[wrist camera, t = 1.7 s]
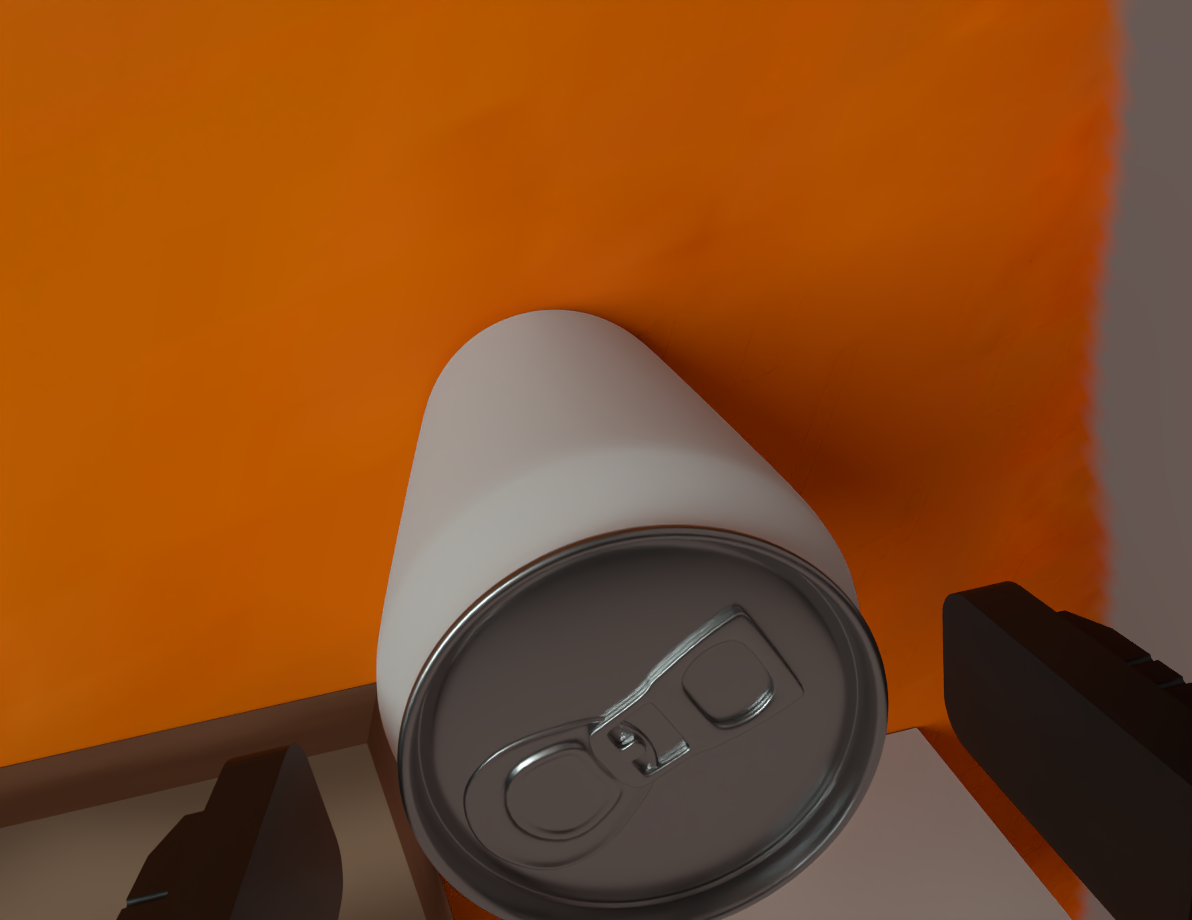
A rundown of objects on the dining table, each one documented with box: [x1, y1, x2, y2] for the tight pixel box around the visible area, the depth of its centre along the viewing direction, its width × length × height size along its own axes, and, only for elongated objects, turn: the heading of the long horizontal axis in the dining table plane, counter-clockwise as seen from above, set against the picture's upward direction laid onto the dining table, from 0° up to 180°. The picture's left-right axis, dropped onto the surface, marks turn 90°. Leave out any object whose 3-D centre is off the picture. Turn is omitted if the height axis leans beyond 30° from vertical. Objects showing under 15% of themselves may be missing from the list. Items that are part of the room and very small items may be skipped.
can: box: [377, 310, 888, 920], centre depth 14 cm, size 6×6×12 cm
